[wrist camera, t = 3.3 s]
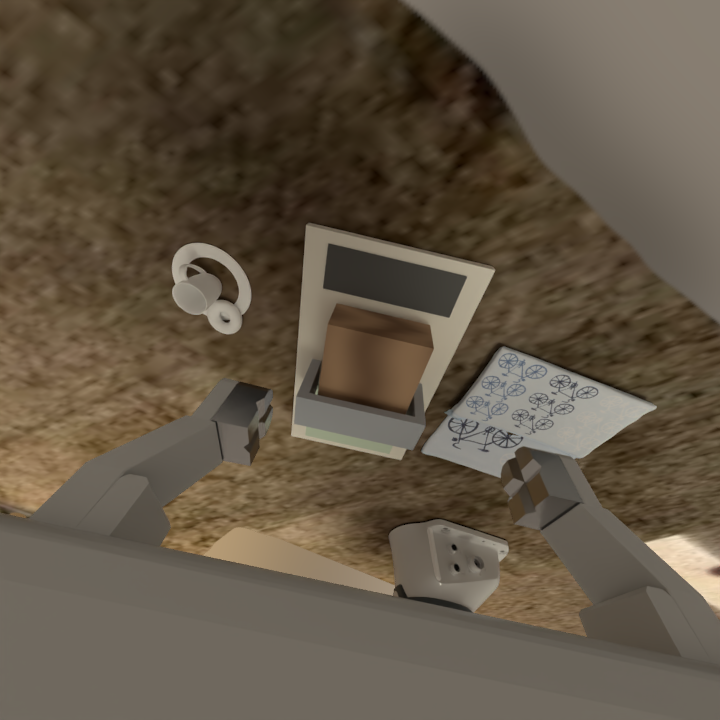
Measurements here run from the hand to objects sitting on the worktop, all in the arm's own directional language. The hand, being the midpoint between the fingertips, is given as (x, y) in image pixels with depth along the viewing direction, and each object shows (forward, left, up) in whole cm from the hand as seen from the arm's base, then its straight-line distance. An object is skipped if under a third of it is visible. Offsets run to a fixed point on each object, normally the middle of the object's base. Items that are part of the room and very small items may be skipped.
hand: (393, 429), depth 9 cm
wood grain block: (0, +11, -18) cm, 21 cm away
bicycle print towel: (-20, +17, -20) cm, 33 cm away
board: (0, +13, -19) cm, 23 cm away
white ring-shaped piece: (+19, +9, -20) cm, 29 cm away
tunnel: (0, +15, -19) cm, 24 cm away
